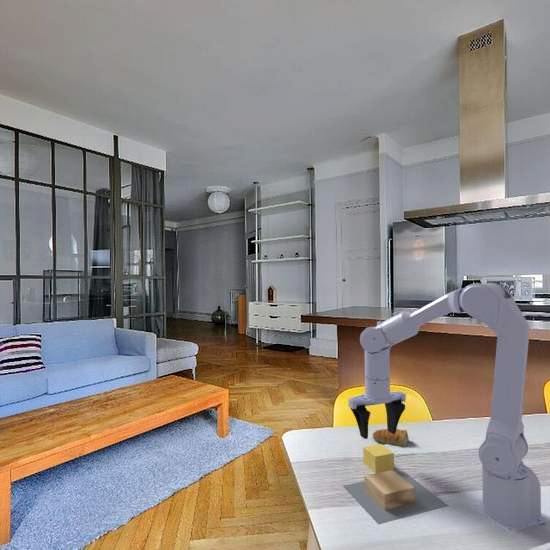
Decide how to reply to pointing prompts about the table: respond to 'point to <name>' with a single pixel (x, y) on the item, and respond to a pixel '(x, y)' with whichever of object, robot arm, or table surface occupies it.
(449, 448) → the table surface
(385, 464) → the yellow block
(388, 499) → the oak block
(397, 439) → the pastry
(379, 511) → the board
